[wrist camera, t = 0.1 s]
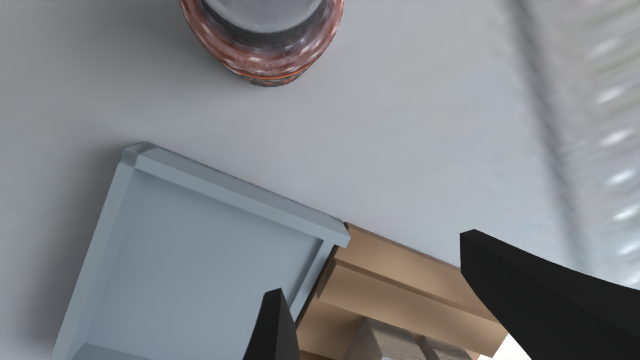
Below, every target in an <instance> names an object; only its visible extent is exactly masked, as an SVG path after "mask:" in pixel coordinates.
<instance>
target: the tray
mask: <svg viewBox="0 0 640 360" xmlns="http://www.w3.org/2000/svg"><path fill="white" fill-rule="evenodd" d="M350 239H351V237H350V235H349V233H348V231H347V230H346V228H345V226H344V224H343V222H342V221H341V220H340V219H337V218H335V217H332V216H330V215H327V214H325V213H322V212H320V211H317V210H315V209H312V208H310V207H307V206H305V205H302V204H300V203H297V202H295V201H292V200H290V199H288V198H285V197H283V196H280V195H278V194H275V193H273V192H270V191H268V190H265V189H263V188H260V187H258V186H255V185H253V184H250V183H248V182H245V181H243V180H241V179H238V178H236V177H233V176H231V175H228V174H226V173H223V172H221V171H218V170H216V169H213V168H211V167H208V166H206V165H203V164H201V163H198V162H196V161H193V160H191V159H189V158H186V157H184V156H181V155H179V154H176V153H174V152H171V151H169V150H166V149H164V148H161V147H159V146H156V145H154V144H151V143H149V142H143V143H140V144H136V145H133V146H130V147H127V148H124V149H123V152H122V154H121V157H120V160H119V163H118V166H117V169H116V172H115V174H114V177H113V180H112V183H111V186H110V189H109V191H108V194H107V197H106V200H105V203H104V206H103V209H102V211H101V214H100V217H99V220H98V223H97V226H96V229H95V231H94V234H93V237H92V240H91V243H90V246H89V249H88V251H87V254H86V257H85V260H84V263H83V266H82V268H81V271H80V274H79V277H78V280H77V283H76V286H75V288H74V291H73V294H72V297H71V300H70V303H69V306H68V308H67V311H66V314H65V317H64V320H63V323H62V326H61V328H60V331H59V334H58V337H57V340H56V343H55V345H54V348H53V351H52V354H51V357H50V360H242V359H243V357H244V354H245V352H246V349H247V346H248V344H249V341H250V338H251V335H252V332H253V329H254V327H255V323H256V320H257V317H258V314H259V310H260V307H261V303H262V299H263V295H264V294H265V292H268V291H271V290H274V289H278V288H282V291H283V294H284V296H285V299H286V302H287V305H288V307H289V310H290V313H291V315H292V318H293V321H294V323H295V321H296V319H297V317H298V315H299V313H300V311H301V309H302V307H303V305H304V303H305V301H306V299H307V297H308V295H309V293H310V291H311V289H312V287H313V285H314V283H315V281H316V279H317V277H318V275H319V273H320V271H321V269H322V267H323V265H324V263H325V261H326V259H327V257H328V255H329V254H330V252H331V250H332V248H333V246H334V244H336V245H338V246H341V247H343V248H346V246H347V244H348V242H349V240H350Z"/></svg>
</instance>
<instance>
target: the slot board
mask: <svg viewBox="0 0 640 360" xmlns="http://www.w3.org/2000/svg"><path fill="white" fill-rule="evenodd" d="M344 226H345V228H346V230H347V231H348V233H349V235H350V237H351V239H350V240H349V242H348V244H347V246H346V248H343V247H341V246H338V245H336V244H335V245H334V247H333V249H332V251H331V253H330V255H329V257H328V259H327V261H326V263H325V265H324V267H323V269H322V271H321V273H320V275H319V277H318V279H317V281H316V283H315V285H314V287H313V288H312V290H311V292H310V294H309V296H308V298H307V300H306V302H305V304H304V306H303V308H302V310H301V312H300V314H299V316H298V318H297V320H296V322H295V328H296V334H297V340H298V346H299V352H300V360H344V357H343V355H344V354H345V352H346V350H347V348H348V346H349V345H350V343H351V341H352V339H353V337H354V336H355V334H356V332H357V330H358V328H359V326H360V325H361V323H362V321H363V319H364V317H365V316H367V317H370V318H373V319H376V320H379V321H382V322H385V323H388V324H391V325H394V326H397V327H400V328H403V329H406V330H409V331H410V332H411V334H412V336H413V337H414V339H415V341H416V342H417V344H418V343H419V342H420V340H421V338H422V337H423V335H424V336H427V337H430V338H433V339H436V340H439V341H442V342H445V343H448V344H452V345H455V346H458V347H461V348H464V349H465V351H466V352H467V353H468V355H469V356H470V357H471V358H472V360H477V359H478V357H479V356H480V354H482V355H485V356H488V357H491V358H492V357H493V356H494V354H495V353H496V351H497V350H498V348H499V347H500V345H501V344H502V342H503V341H504V339H505V337H506V336H507V334H508V333H509V332H508V331H507V330H506V329H505V328H504V327H503V326H502V325H501V323H500V322H499V321H498V320H497V319H496V318H495V317H494V315H493V314H492V313H491V312H490V311H489V310H488V309H487V307H486V306H485V305H484V304H483V303H482V302H481V301H480V299H479V298H478V297H477V296H476V294H475V293H474V292H473V290H472V289H471V287H470V286H469V284H468V283H467V281H466V280H465V278H464V277H463V275H462V274H461V268H458V267H456V266H453V265H451V264H448V263H446V262H444V261H441V260H439V259H436V258H434V257H431V256H429V255H426V254H424V253H421V252H419V251H416V250H414V249H411V248H409V247H406V246H404V245H401V244H399V243H396V242H394V241H392V240H389V239H387V238H384V237H382V236H379V235H377V234H374V233H372V232H369V231H367V230H364V229H362V228H359V227H357V226H354V225H352V224H349V223H347V222H346V223H345V225H344Z"/></svg>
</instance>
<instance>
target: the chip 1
mask: <svg viewBox="0 0 640 360" xmlns="http://www.w3.org/2000/svg"><path fill="white" fill-rule="evenodd" d="M343 357H344V360H426V358H425V356H424V354H423V353H422V351H421V349H420V348H419V346H418V344H417V342H416V341H415V339H414V337H413V336H412V334H411V332H410V331H409V330H406V329H403V328H400V327H397V326H394V325H391V324H388V323H385V322H382V321H379V320H376V319H373V318H370V317H367V316H365V317H364V319H363V321H362V323H361V325H360V326H359V328H358V330H357V332H356V334H355V336H354V337H353V339H352V341H351V343H350V345H349V346H348V348H347V350H346V352H345V354H344V355H343Z"/></svg>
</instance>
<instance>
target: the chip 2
mask: <svg viewBox="0 0 640 360" xmlns="http://www.w3.org/2000/svg"><path fill="white" fill-rule="evenodd" d="M418 346H419V348H420V349H421V351H422V353H423V354H424V356H425V358H426V360H472V358H471V357H470V356H469V355H468V353H467V352H466V351H465V349H464V348H461V347H458V346H455V345H452V344H448V343H445V342H442V341H439V340H436V339H433V338H430V337H427V336H424V335H423V337H422V338H421V340H420V342H419V343H418Z"/></svg>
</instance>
